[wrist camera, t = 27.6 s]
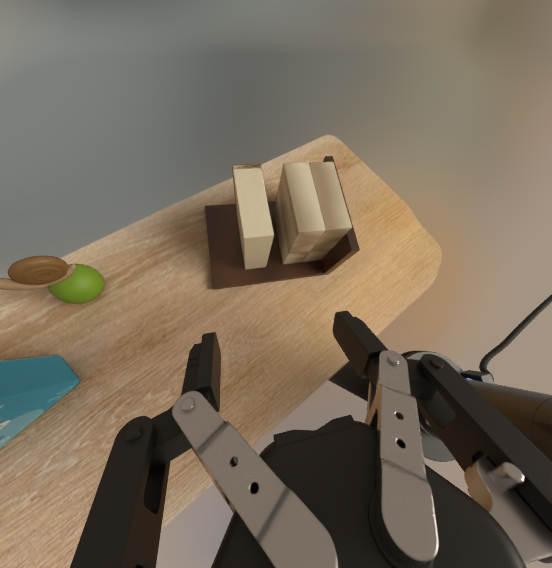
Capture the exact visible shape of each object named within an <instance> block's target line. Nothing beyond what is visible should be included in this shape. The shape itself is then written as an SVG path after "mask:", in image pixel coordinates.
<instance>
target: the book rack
mask: <svg viewBox="0 0 552 568" xmlns="http://www.w3.org/2000/svg"><path fill="white" fill-rule="evenodd" d="M268 207H269V212H270V217H271V222H272V227H273V232H274V237H273V241H272V245H271V249H270V253H269V257H268V261H267V265H266V267H262V268H254V269H246V270H245V265H244V258H243V252H242V245H241V238H240V232H239V225H238V220H237V212H236V204H228V205H213V206H205V211H206V221H207V230H208V240H209V250H210V260H211V269H212V279H213V288H214V289H222V288H229V287H237V286H244V285H252V284H259V283H267V282H274V281H282V280H289V279H296V278H304V277H311V276H319V275H326V274H329V273H331V272H332V271H333V270H335V269H336V268H337V267H338V266H340V265H341V264H342V263H344V262H345V261H346V260H348V259H349V258H350V257H351V256H353V255H354V254H355V253H357V252H358V251H359V250H360V249H359V246H358V242H357V239H356V235H355V232H354V228H353V225H352V221H351V218H350V215H349V211H348V208H347V204H346V201H345V197H344V194H343V190H342V187H341V184H340V180H339V177H338V173H337V170H336V166H335V163H334V160H333V156H326V157H325V158H324V161H323V162H312V163H284V164H283V168H282V173H281V178H280V183H279V188H278V193H277V198H276V201H275V202H268Z"/></svg>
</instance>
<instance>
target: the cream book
mask: <svg viewBox="0 0 552 568" xmlns="http://www.w3.org/2000/svg"><path fill="white" fill-rule="evenodd" d="M232 170H233V181H234V191H235V202H236V212H237V220H238V225H239V232H240V238H241V245H242V252H243V258H244V265H245V270H246V269H254V268H262V267H266V265H267V261H268V257H269V253H270V249H271V245H272V241H273V237H274V232H273V227H272V222H271V217H270V212H269V207H268V202H267V196H266V191H265V186H264V181H263V176H262V171H261V164H246V165H232Z"/></svg>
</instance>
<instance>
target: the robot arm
mask: <svg viewBox="0 0 552 568" xmlns="http://www.w3.org/2000/svg"><path fill="white" fill-rule="evenodd" d="M551 302H552V295H551V296H550V297H548V298H547V299H546V300H545V301H544V302H543V303H542V304H540V305H539V306H538V307H537V308H536V309H535V310H534V311H533V312H532V313H531V314H530V315H528V316H527V317H526V318H525V319H524V320H523V321H522V322H521V324H519V325H518V326H517V327H516V328H515V329H514V330H513V331H512V332H511V333H510V334H509V335H508V336H507V337H506V339H505V340H504V341H503V342H502V343H500V344H499V345H498V346H497V347H495V348H494V349H493V350H491V351H490V352H489V353H488V354H486V355H485V357H484V358H483V359H482V360H481V362H480V366H479V368H480V371H481V372H477V371H471V370H468V371H464V372H460V374H461V375H460V374H459V373H458V372H457V371H456V370H455V369H454V368H453V367H452V366H451V365H450V364H449V363H448V362H446V361H445V360H444V359H442V358H441V357H439V356H436V355H433V354H424V355H423V356H422V357H421V359H420V360H415V359H405V358H404V357H403V356H401V355H400V354H398V353H396V352H394V351H390V350H388V349H387V348H386V347H385V346H384V345H383V344H382V343H381V341H380V340H379V339H378V338H377V337H376V336H375V334H374V333H372V331H371V330H370V329H369V328H368V326H367V325H366V324H365V323H364V322H363V321H362V320H360V319H359V318H357V317H353V316H352V315H351V314H350V313H349V312H348V311H342V312H336V313H335V318H334V324H333V335H334V337H335V339H336V340H337V342H338V344H339V345H340V347H341V348H342V350H343V352H344V353H345V355H346V356H347V358H348V359H349V361H350V363H351V364H352V366H353V367H354V369H355V371H356V372H357V374H358V375H359V377H360V378H361V379H365V378H368V379H369V380H370V383H369V393H368V407H367V416H366V420H365V423H362V422H358V421H354V420H353V418H352V416H351V415H348V416H344V417H340V418H336V419H333V420H331V421H330V422H328V423H327V424H325V425H324V426H322V427H321V428H319V429H318V430H315V431H310V430H309V431H308V430H291V431H287V432H283V433H279V434H276V435H274V442H272V443H271V444H270V445H268V446H267V447H266V448H265V449H264V450H263V451H262V452H261V454H260V455H258V454H257V453H256V452H255V451H254V449H253V448H252V447H251V446H250V445H249V444H248V443H247V442H246V440H245V439H244V438H243V437H242V436H241V435H240V434H239V432H238V431H237V430H236V429H235V428H234V427H233V426H232V425H231V424H230V423H229V422H228V421H227V422H226V421H224V420H223V419H222V417H221V416H220V415H219V414H218V413H217V412H219V409H220V372H221V353H220V347H219V343H218V339H217V335H216V332H213V333H207V334H203V336H202V342H201V343H199V344H194V346H193V347H192V349H191V350H190V353H189V358H188V363H187V368H186V373H185V378H184V383H183V388H182V393H181V396H180V397H179V398H178V399H177V401H176V402H175V404H174V405H173V406H172V407H171V408H170V409H169V410H167V411H165V412H163V413H161V414H160V415H158V416H156V417H154V418H152V419H150V418H149V417H146V416H140V417H137V418H135V419H132V420H131V421H129V422H128V423H127V424H126V425H125V426H123V428H122V429H121V430H120V431H119V433H118V434H117V436H116V438H115V441H114V444H113V447H112V450H111V452H110V455H109V458H108V461H107V464H106V467H105V470H104V472H103V475H102V478H101V481H100V484H99V487H98V489H97V492H96V495H95V498H94V501H93V504H92V507H91V509H90V512H89V515H88V518H87V521H86V524H85V526H84V529H83V532H82V535H81V538H80V541H79V544H78V546H77V549H76V552H75V555H74V558H73V561H72V563H71V566H70V568H156V561H157V553H158V547H159V540H160V532H161V525H162V518H163V511H164V503H165V496H166V489H167V482H168V475H169V467H170V461H171V460H173V459H175V458H176V457H178V456H179V455H181V454H182V453H184V452H186V451H187V450H189V449H190V448H192V450H193V452H194V453H195V455H196V456H197V458H198V459H199V461H200V462H201V464H202V465H203V467H204V468H205V470H206V471H207V473H208V474H209V476H210V477H211V479H212V481H213V482H214V484H215V486H216V487H217V489H218V490H219V492H220V493H221V495H222V496H223V498H224V499H225V501H226V502H227V504H228V505H229V507H230V509H231V510H232V512H233V516H232V518H231V521H230V523H229V526H228V528H227V531H226V533H225V535H224V538H223V540H222V542H221V545H220V547H219V550H218V552H217V555H216V557H215V560H214V562H213V564H212V567H211V568H526V566H525V564H527V563H531V562H534V561H537V560H538V561H541V562H543V563H552V395H548V394H543V393H538V392H533V391H528V390H523V389H517V388H512V387H507V386H502V385H497V384H494V378H493V376H492V374H491V373H490V372H489V371H488V370H487V369H486V368H487V364H488V362H489V361H490V360H491V359H492V358H493V357H494V356H495V355H496V354H497V353H499V352H500V351H502V350H503V349H504V348H505V347H506V346H508V345H509V344H510V343H511V342H512V341H513V340H514V338H515V337H516V336H517V335H518V334H519V333H520V332H521V331H522V330H523V329H524V328H525V327H526V326H527V325H528V324H529V323H530V322H531V321H532V320H533V319H534V318H535V317H536V316H537V315H538V314H539V313H540V312H541V311H542V310H543V309H544V308H546V307H547V306H548V305H549V304H550V303H551ZM420 428H421V429H422V430H423V431H424V432H425V433H427V434H429V435H430V436H432V437H434V438H437V439H439V440H441V441H442V442H443V443H444V445H445V446H446V447H447V449H448V450H449V451H450V453H451V454H452V456H453V457H454V458H455V460H456V461H457V462H458V464H459V465H460V466H461V468H462V469H463V471H464V472H465V473H464V476H465V480H466V483H467V486H468V492H469V494H470V496H471V497H472V498H471V497H469V496H468V495H467V494H466V493H464V492H463V491H461V490H460V489H459V488H457V487H456V486H455V485H453V484H452V483H450V482H449V481H448V480H446V479H445V478H443V477H442V476H441V475H439V474H438V473H436V472H435V471H434V470H432V469H431V468H430V467H428V466H427V465H425V463H424V456H423V448H422V440H421V432H420Z"/></svg>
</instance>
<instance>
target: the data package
mask: <svg viewBox="0 0 552 568" xmlns="http://www.w3.org/2000/svg"><path fill="white" fill-rule="evenodd" d="M79 382H80V379H79V378H78V377H77V375H76V374H75V373H74V372H73V371H72V369H71V368H70V367H69V366H68V364H67V363H66V362H65V361H64V360H63V358H62V357H61V356H59V355H53V356H43V357H33V358H23V359H12V360H2V361H0V448H1V447H3V446H4V445H5V444H6V443H8V442H9V441H10V440H11V439H13V438H14V437H15V436H16V435H17V434H19V433H20V432H21V431H22V430H23V429H25V428H26V427H27V426H28V425H30V424H31V423H32V422H33V421H34V420H36V419H37V418H38V417H39V416H40V415H42V414H43V413H44V412H45V411H47V410H48V409H49V408H50V407H51V406H53V405H54V404H55V403H56V402H57V401H59V400H60V399H61V398H62V397H63V396H65V395H66V394H67V393H68V392H70V391H71V390H72V389H73V388H74V387H76V386H77V385H78V383H79Z"/></svg>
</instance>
